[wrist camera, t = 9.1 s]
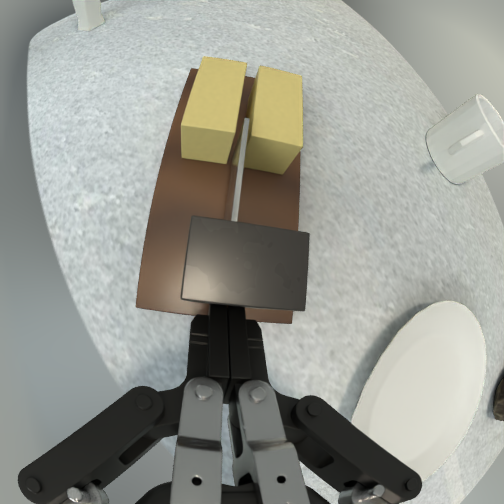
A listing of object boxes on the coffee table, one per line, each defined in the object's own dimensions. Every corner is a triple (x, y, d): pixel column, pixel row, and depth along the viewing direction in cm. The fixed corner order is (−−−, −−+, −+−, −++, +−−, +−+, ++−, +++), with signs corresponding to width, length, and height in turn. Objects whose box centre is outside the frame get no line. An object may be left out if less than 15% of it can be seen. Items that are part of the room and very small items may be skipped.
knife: (246, 307, 17) (305, 311, 8) (187, 301, 16) (180, 299, 7) (259, 159, 19) (308, 68, 10) (209, 151, 18) (227, 49, 9)
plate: (381, 509, 17) (391, 517, 15) (287, 417, 18) (298, 428, 15) (483, 385, 23) (495, 386, 21) (437, 259, 23) (453, 256, 21)
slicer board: (284, 322, 19) (291, 323, 17) (139, 307, 17) (135, 307, 16) (295, 98, 23) (300, 88, 21) (190, 79, 21) (191, 68, 20)
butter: (282, 174, 19) (303, 147, 15) (181, 158, 18) (180, 124, 14) (285, 106, 21) (302, 75, 17) (199, 90, 19) (203, 55, 15)
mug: (399, 138, 25) (457, 92, 16) (441, 126, 28) (486, 93, 19) (435, 202, 25) (502, 171, 15) (469, 176, 28) (518, 150, 18)
